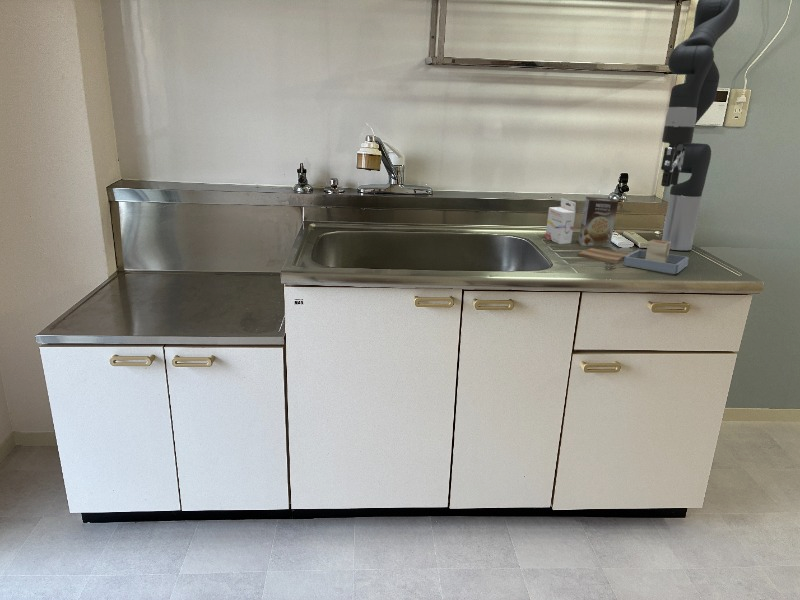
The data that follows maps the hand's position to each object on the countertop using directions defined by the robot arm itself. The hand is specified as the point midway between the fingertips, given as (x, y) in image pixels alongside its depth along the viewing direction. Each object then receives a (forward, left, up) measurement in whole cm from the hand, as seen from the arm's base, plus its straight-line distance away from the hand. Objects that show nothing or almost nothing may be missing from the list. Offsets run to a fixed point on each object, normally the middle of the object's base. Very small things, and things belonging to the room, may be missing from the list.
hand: (669, 185), depth 161 cm
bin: (0, 0, -23) cm, 23 cm away
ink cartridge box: (-8, -33, -23) cm, 41 cm away
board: (+1, -15, -23) cm, 27 cm away
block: (0, 0, -23) cm, 23 cm away
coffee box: (-12, -22, -23) cm, 34 cm away
